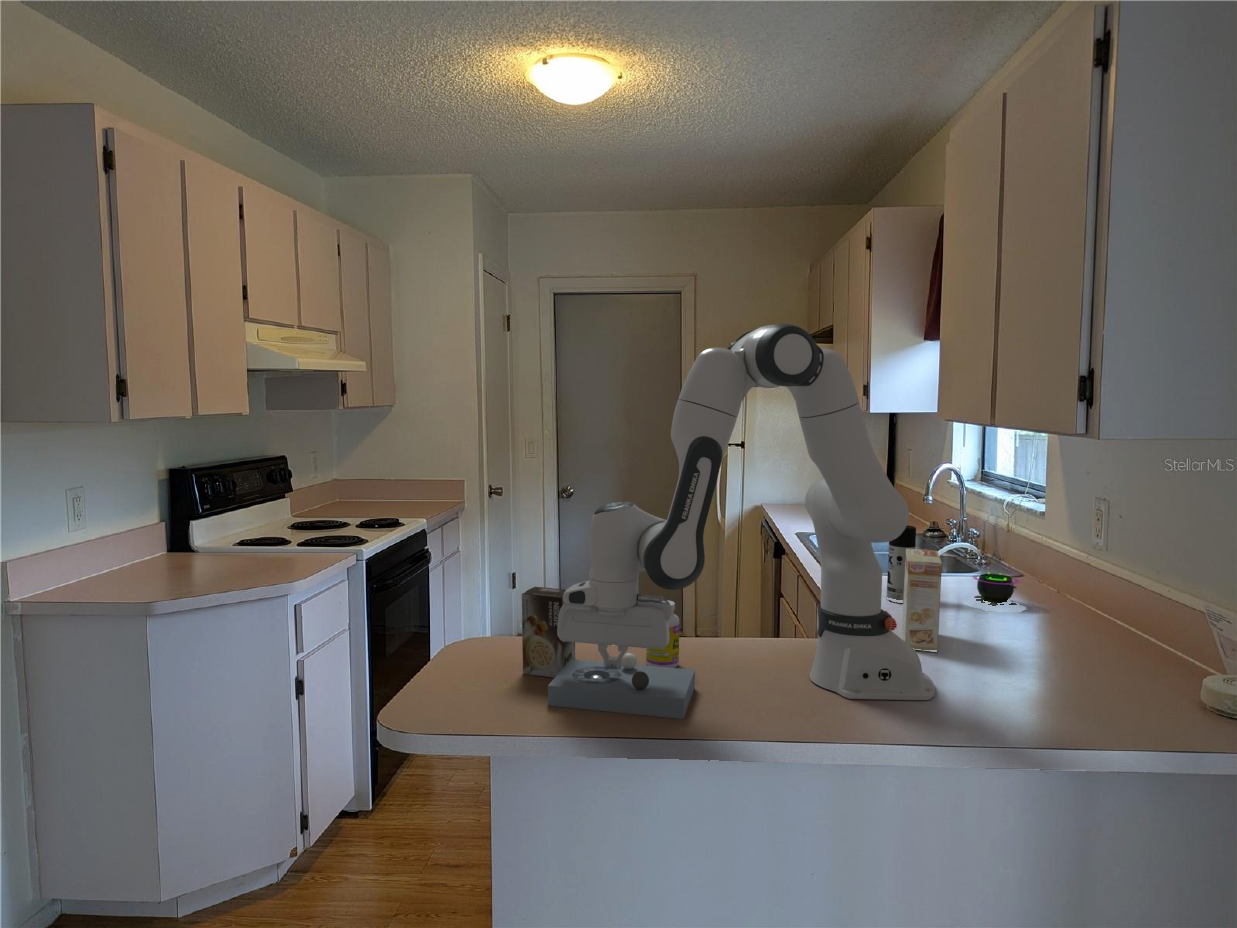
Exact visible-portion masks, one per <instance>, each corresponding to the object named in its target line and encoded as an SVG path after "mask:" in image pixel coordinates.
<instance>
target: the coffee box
mask: <svg viewBox="0 0 1237 928" xmlns="http://www.w3.org/2000/svg"><path fill="white" fill-rule="evenodd" d="M566 590H567V589H564V588H563V589H562V588H551V587H544V586H543V587H542V586H533V587H532V588H531V587H530V588H529V589H527V590H526V591H525V592H522V593H521V631H522V632H521V633H522V634H521V636H522V637H521V638H522V640H521V641H522V643H521V644H522V646H521V647H522V649H521V650H522V675H523V674H524V675H531V676H540V677H545V678H546V677H547V678H552V679H554V678H555V677H556V676H557V674H558V673H559V672H560V671H561V670H562V669H563V667H564V666H565V665H566V664H567V663H568V662H569V661H570V659H575V660H576V642H566V641H561V640H560V638H559V637H558V635H557V625H558V617H559V611H560V609H561V607H562V606H563V605H564V604H565V603H564V601H563V594H564V592H565V591H566Z"/></svg>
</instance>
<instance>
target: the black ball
mask: <svg viewBox="0 0 1237 928" xmlns="http://www.w3.org/2000/svg"><path fill="white" fill-rule="evenodd" d="M632 684H633V686H634V687H635V688H637V689H644V688H646V687H647V686H648V684H649V677H648V675H647V674H646V673H644V672H642V671H639V672H636V673H635V674H634V675H633V677H632Z"/></svg>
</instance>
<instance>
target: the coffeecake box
mask: <svg viewBox="0 0 1237 928" xmlns="http://www.w3.org/2000/svg"><path fill="white" fill-rule="evenodd" d="M942 567H943V563H942V560H941V557H940V554H939V551H938V550H933V549H923V548H921V549H919V548H915V549H906V559H905V578H904V600H903V604H902V606H903V608H902V629H901V630H902V631H903V632H902V640H903V641H905V642H906V643H907V644H908V645H910V646H911V647H912V648H914V649H921V650H938V651H939V631H940V628H939V627H940V608H941V590H942V589H941V588H942V587H941V586H942V573H943V572H942V569H943V568H942Z"/></svg>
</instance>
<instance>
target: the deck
mask: <svg viewBox="0 0 1237 928" xmlns="http://www.w3.org/2000/svg"><path fill="white" fill-rule="evenodd" d="M639 671H642V672H644V673H646V674H647V675H648V677H649V684H648V686H647V687H646V688H644V689H637V688H635V687H634V686H633V684H632V677H633V675H634V674H635V673H636V672H639ZM592 675H600V676H602V677H603V678H604V679H603V680H590V679H588V678H589V677H590V676H592ZM695 683H696V670H695V669H692V668H691V669H688V668H678V667H675V668H668V667H656V666H648V665H643V664H636V666H635V667H634V668H633V669H625V668H624V667H623V666H622V667H621V669H620V670H618V669H608V668H604V661H597V660H585V659H576V658H575V659H570V661H569V662H568V663H567V664H566V665H565V666H564V667H563V669H562V670H561V671H560V672H559V673H558V674H557V676H556V677H555V678H552V680H551V681H550V682H549V683H548V685H547V706H548V707H559V708H560V707H561V708H568V709H570V708H571V709H577V710H580V709H581V710H588V711H596V712H597V711H599V712H609V713H616V714H617V713H618V714H629V715H636V716H637V715H638V716H645V717H646V716H649V717H658V718H667V719H676V720H677V719H678V720H685V716H686V714H687V711H688V709H689V706H690V703H691V699H692V698H693V695H694V691H695V688H696V686H695V685H696V684H695Z"/></svg>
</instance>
